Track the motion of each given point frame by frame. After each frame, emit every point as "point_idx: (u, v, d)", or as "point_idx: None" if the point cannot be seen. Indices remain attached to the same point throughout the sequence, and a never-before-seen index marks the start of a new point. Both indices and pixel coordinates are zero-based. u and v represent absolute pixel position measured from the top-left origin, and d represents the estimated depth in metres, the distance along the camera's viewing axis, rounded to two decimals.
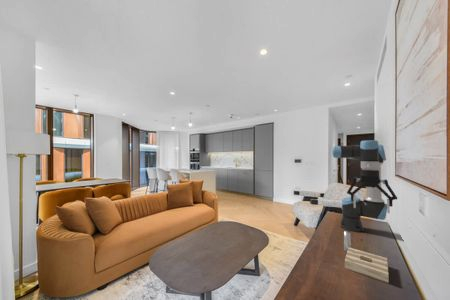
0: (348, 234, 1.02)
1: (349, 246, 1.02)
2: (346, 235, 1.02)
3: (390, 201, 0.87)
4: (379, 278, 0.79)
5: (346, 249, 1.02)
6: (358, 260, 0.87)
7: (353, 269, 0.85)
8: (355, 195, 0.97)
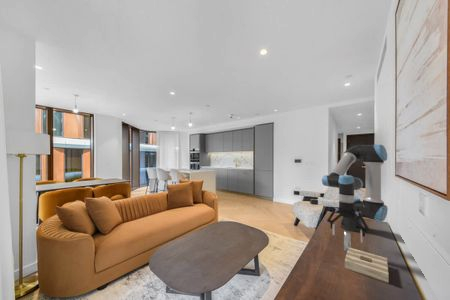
0: (348, 234, 1.02)
1: (349, 246, 1.02)
2: (346, 235, 1.02)
3: (363, 231, 0.98)
4: (379, 278, 0.79)
5: (346, 249, 1.02)
6: (358, 260, 0.87)
7: (353, 269, 0.85)
8: (334, 223, 1.08)
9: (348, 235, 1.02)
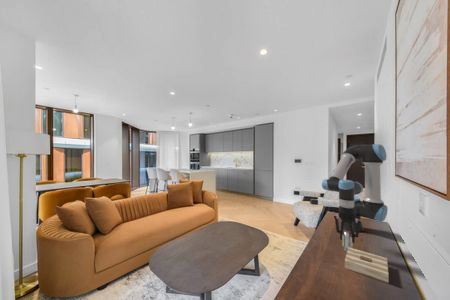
0: (348, 234, 1.02)
1: (349, 246, 1.02)
2: (346, 235, 1.02)
3: (352, 238, 1.01)
4: (379, 278, 0.79)
5: (346, 249, 1.02)
6: (358, 260, 0.87)
7: (353, 269, 0.85)
8: None
9: (348, 235, 1.02)
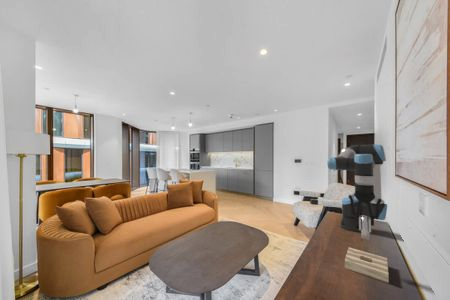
0: (366, 218, 0.87)
1: (367, 232, 0.87)
2: (364, 220, 0.88)
3: (371, 220, 0.86)
4: (379, 278, 0.79)
5: (364, 236, 0.88)
6: (358, 260, 0.87)
7: (353, 269, 0.85)
8: None
9: (366, 220, 0.87)
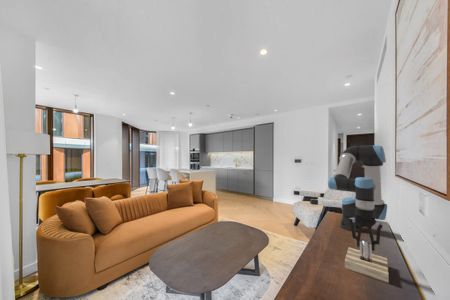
0: (367, 243, 0.87)
1: (368, 258, 0.87)
2: (364, 245, 0.87)
3: (372, 245, 0.86)
4: (379, 278, 0.79)
5: None
6: (358, 260, 0.87)
7: (353, 269, 0.85)
8: (361, 240, 0.90)
9: (367, 245, 0.87)
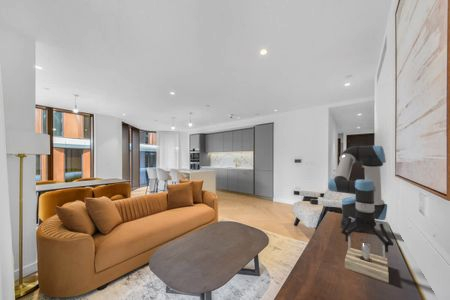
0: (367, 246, 0.87)
1: (368, 260, 0.87)
2: (365, 247, 0.87)
3: (386, 246, 0.83)
4: (379, 278, 0.79)
5: None
6: (358, 260, 0.87)
7: (353, 269, 0.85)
8: None
9: (367, 247, 0.87)
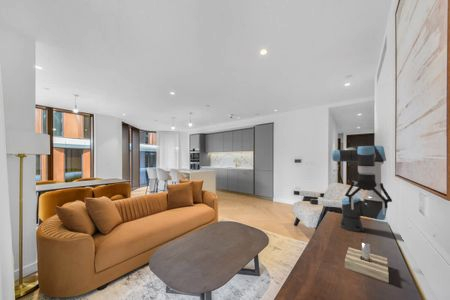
0: (367, 246, 0.87)
1: (368, 260, 0.87)
2: (365, 247, 0.87)
3: (385, 203, 0.93)
4: (379, 278, 0.79)
5: None
6: (358, 260, 0.87)
7: (353, 269, 0.85)
8: (353, 197, 1.03)
9: (367, 247, 0.87)
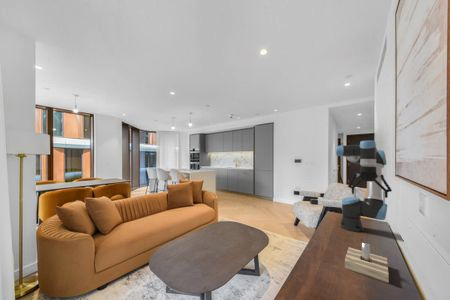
0: (367, 246, 0.87)
1: (368, 260, 0.87)
2: (365, 247, 0.87)
3: (385, 193, 1.00)
4: (379, 278, 0.79)
5: None
6: (358, 260, 0.87)
7: (353, 269, 0.85)
8: None
9: (367, 247, 0.87)
